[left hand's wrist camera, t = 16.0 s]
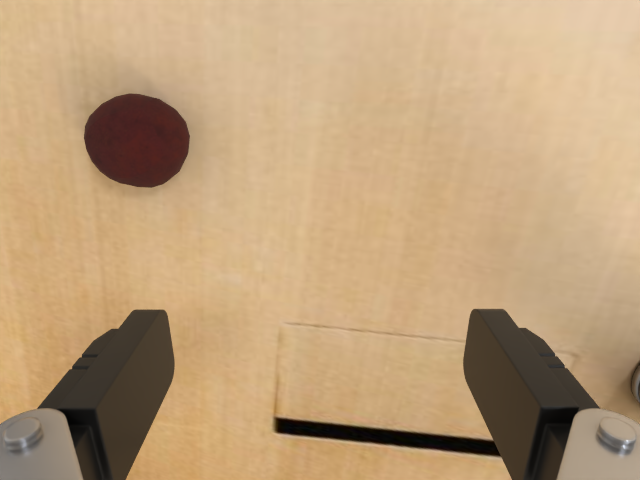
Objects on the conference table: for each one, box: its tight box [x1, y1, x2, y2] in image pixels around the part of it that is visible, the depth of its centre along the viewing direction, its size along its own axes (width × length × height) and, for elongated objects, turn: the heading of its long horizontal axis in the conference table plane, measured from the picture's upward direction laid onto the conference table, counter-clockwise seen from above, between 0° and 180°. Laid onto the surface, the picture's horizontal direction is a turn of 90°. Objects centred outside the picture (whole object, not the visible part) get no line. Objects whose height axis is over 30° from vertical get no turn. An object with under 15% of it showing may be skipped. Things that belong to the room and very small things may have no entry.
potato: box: [84, 94, 190, 187], centre depth 34 cm, size 7×8×7 cm
